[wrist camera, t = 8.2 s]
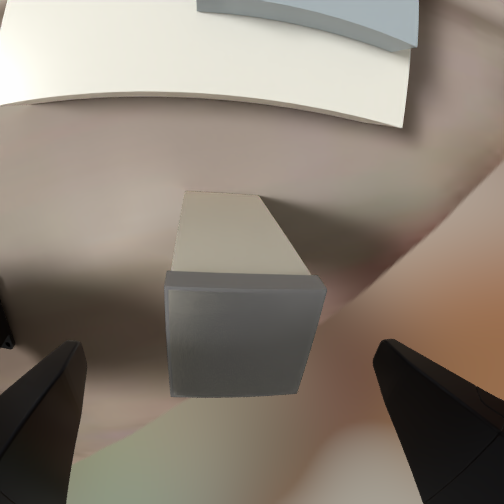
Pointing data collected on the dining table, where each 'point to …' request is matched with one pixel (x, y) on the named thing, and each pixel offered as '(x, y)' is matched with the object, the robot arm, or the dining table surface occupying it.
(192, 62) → the socket block
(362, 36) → the panel
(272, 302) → the peg
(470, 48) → the dining table surface
